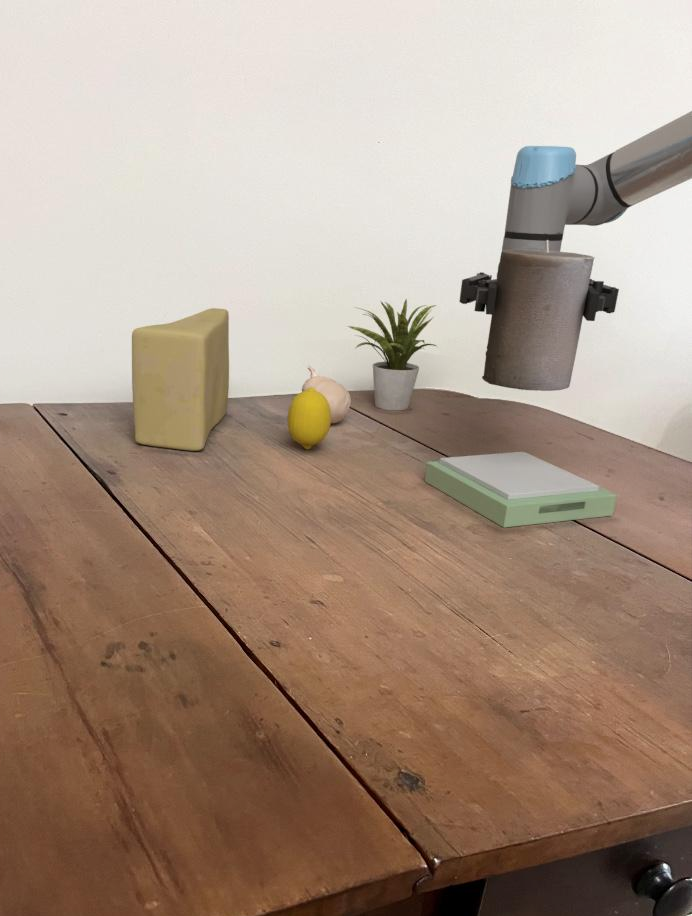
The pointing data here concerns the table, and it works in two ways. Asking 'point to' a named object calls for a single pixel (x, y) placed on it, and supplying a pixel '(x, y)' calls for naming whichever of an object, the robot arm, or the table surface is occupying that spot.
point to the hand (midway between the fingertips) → (541, 304)
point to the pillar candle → (537, 319)
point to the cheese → (180, 380)
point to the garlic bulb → (330, 394)
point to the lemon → (309, 418)
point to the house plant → (396, 357)
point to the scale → (518, 489)
